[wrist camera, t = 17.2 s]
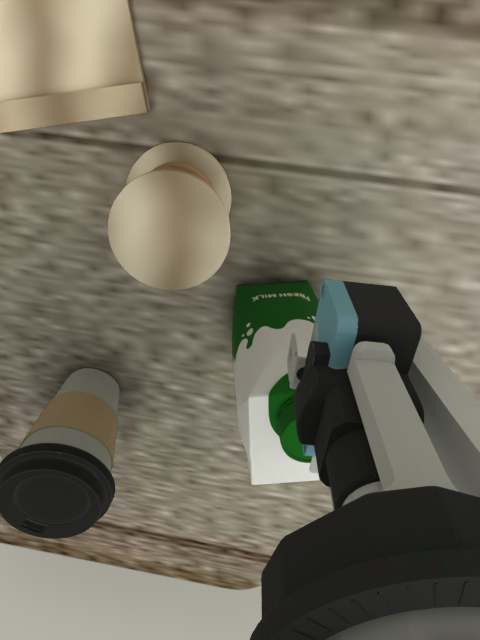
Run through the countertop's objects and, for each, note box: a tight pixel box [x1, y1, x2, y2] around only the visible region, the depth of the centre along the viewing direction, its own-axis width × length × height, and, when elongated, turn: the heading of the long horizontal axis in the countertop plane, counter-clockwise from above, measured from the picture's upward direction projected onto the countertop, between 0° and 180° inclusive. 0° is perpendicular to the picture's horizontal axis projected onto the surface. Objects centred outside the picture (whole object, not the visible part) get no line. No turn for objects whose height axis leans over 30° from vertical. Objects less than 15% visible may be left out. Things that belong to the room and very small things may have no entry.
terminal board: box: [0, 0, 151, 133], centre depth 31 cm, size 14×14×3 cm
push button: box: [250, 279, 480, 640], centre depth 10 cm, size 7×5×10 cm
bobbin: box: [108, 141, 232, 290], centre depth 34 cm, size 9×9×11 cm
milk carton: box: [232, 281, 320, 485], centre depth 37 cm, size 9×9×20 cm
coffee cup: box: [0, 368, 120, 539], centre depth 42 cm, size 9×9×15 cm
